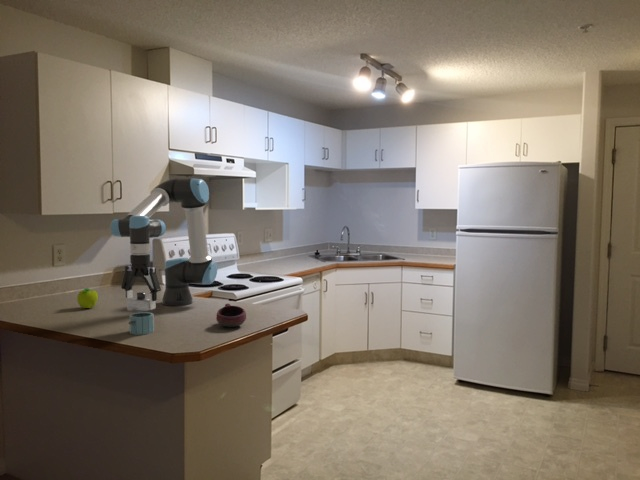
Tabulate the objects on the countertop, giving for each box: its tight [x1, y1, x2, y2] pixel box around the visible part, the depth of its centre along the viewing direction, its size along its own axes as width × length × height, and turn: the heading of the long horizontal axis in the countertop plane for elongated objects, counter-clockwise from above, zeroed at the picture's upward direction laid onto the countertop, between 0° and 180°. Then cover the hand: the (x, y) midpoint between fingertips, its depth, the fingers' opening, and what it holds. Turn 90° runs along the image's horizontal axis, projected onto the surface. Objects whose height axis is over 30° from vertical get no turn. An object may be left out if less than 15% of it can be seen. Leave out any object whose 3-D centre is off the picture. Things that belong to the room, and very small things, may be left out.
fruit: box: [76, 287, 99, 309], centre depth 261 cm, size 9×9×10 cm
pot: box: [128, 311, 155, 336], centre depth 218 cm, size 13×9×7 cm
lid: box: [126, 291, 156, 312], centre depth 217 cm, size 11×11×6 cm
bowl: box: [215, 303, 247, 328], centre depth 228 cm, size 16×13×8 cm
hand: (141, 307), depth 217 cm, fingers closed on lid, 11 cm apart
